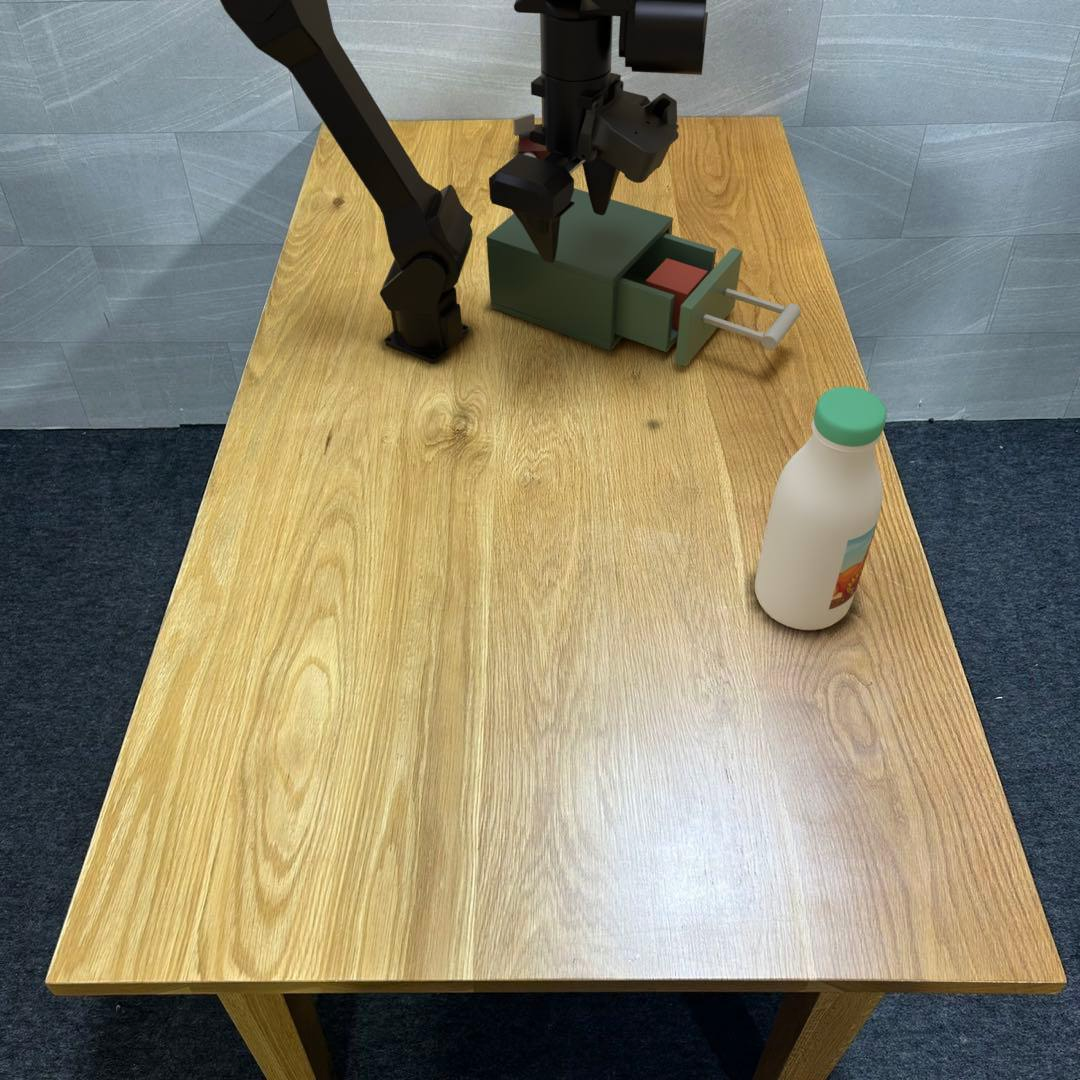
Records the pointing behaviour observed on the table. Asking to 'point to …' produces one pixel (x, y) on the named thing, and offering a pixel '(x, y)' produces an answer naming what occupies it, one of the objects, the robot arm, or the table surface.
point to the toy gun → (528, 137)
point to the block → (676, 283)
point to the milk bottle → (824, 514)
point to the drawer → (689, 301)
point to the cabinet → (572, 268)
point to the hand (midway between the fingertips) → (574, 236)
